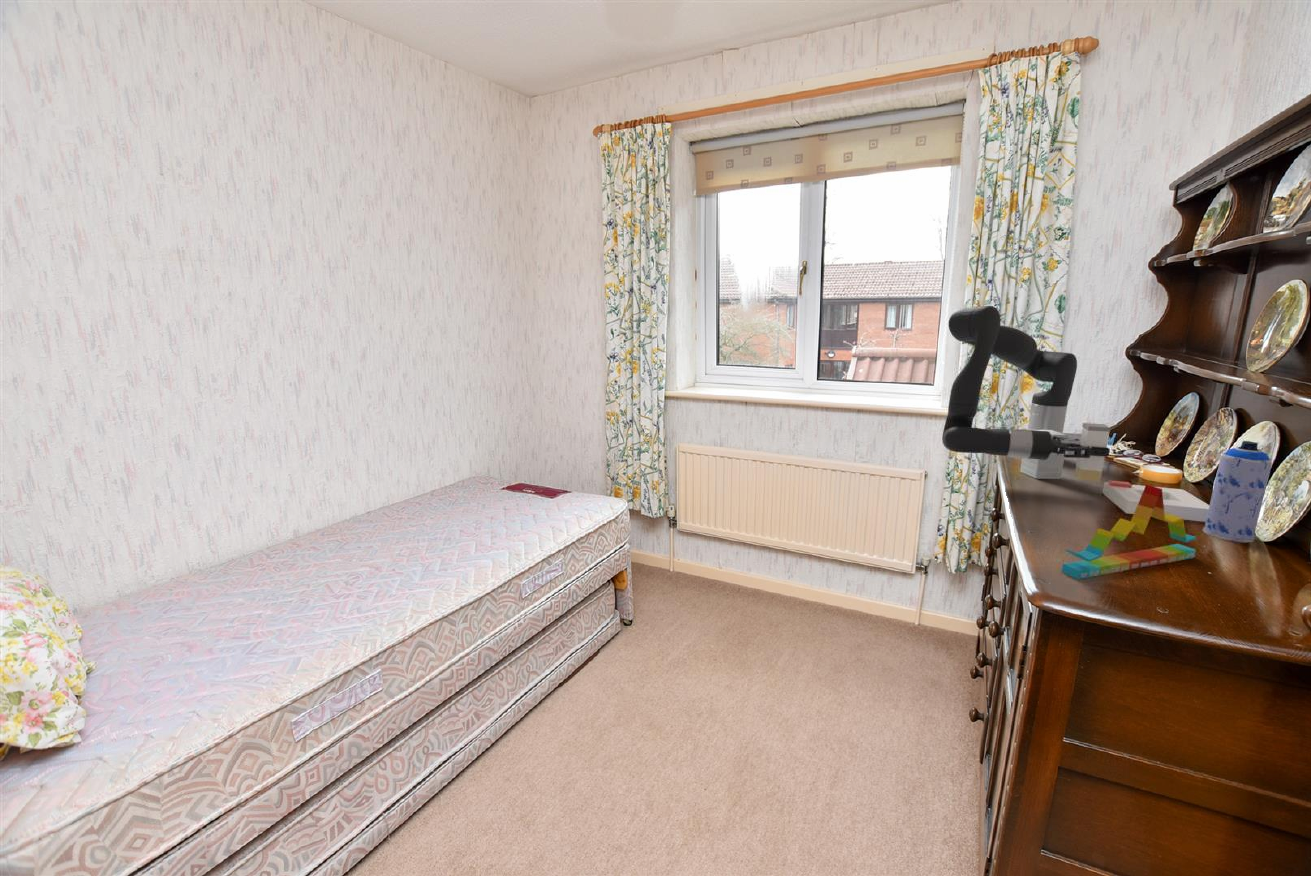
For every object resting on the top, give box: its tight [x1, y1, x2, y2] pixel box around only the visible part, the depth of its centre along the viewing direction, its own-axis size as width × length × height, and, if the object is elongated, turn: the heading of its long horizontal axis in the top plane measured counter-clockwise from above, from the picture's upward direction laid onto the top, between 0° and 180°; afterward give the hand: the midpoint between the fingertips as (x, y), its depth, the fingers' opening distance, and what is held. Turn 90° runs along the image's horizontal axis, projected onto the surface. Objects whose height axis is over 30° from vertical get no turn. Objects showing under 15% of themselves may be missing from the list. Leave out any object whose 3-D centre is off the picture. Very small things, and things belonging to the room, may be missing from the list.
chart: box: [1061, 484, 1197, 580], centre depth 105 cm, size 30×3×15 cm, turn 108°
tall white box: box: [1074, 422, 1112, 483], centre depth 148 cm, size 5×5×14 cm
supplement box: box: [1019, 430, 1069, 480], centre depth 163 cm, size 7×7×13 cm
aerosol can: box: [1202, 440, 1273, 543], centre depth 120 cm, size 8×8×20 cm
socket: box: [1102, 480, 1210, 523], centre depth 138 cm, size 16×16×4 cm
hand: (1105, 449), depth 147 cm, fingers closed on tall white box, 4 cm apart
